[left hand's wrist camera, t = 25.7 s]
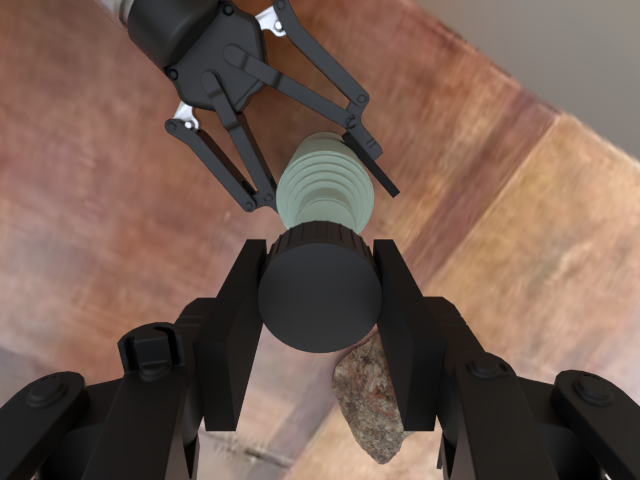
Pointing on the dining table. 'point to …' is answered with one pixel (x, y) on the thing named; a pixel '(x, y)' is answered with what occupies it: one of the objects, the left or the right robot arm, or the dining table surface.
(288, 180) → the bottle
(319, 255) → the cap
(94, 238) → the dining table surface
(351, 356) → the rock
